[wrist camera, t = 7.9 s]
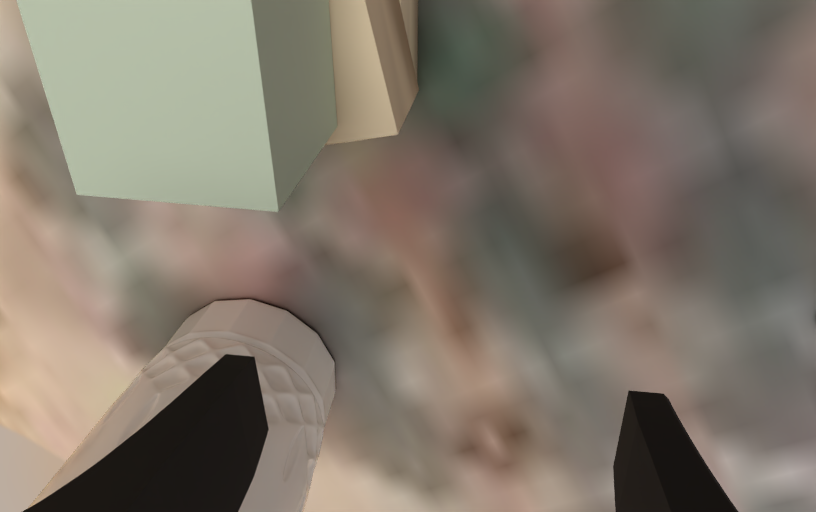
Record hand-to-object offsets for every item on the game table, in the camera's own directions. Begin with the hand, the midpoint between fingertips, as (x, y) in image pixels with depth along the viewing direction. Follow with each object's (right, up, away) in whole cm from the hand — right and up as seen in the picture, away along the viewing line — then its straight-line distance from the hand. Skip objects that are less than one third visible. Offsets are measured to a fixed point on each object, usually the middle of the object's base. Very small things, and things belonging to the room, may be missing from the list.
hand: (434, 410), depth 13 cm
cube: (-4, +8, +2) cm, 9 cm away
